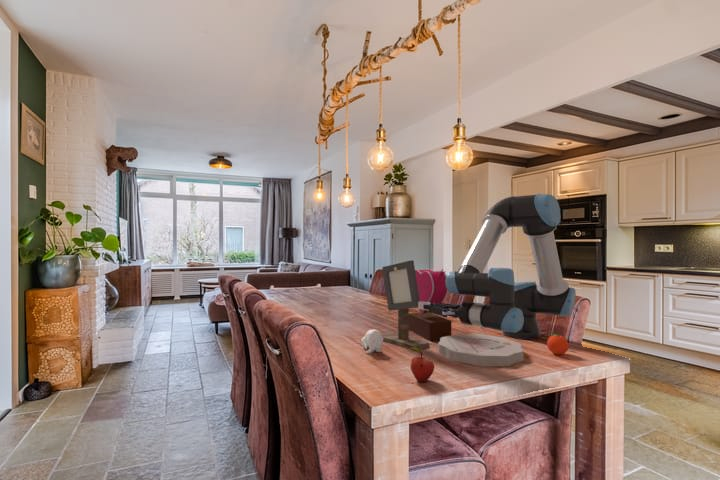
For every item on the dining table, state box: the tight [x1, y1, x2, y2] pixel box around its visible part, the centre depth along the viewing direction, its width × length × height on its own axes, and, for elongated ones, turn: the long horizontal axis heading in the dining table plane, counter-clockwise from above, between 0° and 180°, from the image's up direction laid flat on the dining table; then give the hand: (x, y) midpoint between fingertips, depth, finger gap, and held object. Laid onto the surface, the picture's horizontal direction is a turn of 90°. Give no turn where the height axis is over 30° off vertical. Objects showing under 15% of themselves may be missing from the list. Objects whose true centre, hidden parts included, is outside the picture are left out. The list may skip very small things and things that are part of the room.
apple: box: [408, 347, 435, 383], centre depth 111 cm, size 8×7×10 cm
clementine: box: [546, 334, 569, 356], centre depth 138 cm, size 8×7×7 cm
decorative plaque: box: [437, 333, 524, 367], centre depth 139 cm, size 30×4×30 cm
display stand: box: [381, 308, 430, 351], centre depth 153 cm, size 22×8×32 cm, turn 40°
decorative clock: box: [409, 268, 453, 342], centre depth 166 cm, size 25×10×30 cm, turn 17°
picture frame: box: [381, 260, 420, 312], centre depth 151 cm, size 16×3×18 cm, turn 40°
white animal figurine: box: [360, 329, 384, 355], centre depth 142 cm, size 6×8×12 cm
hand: (419, 305), depth 143 cm, fingers closed
